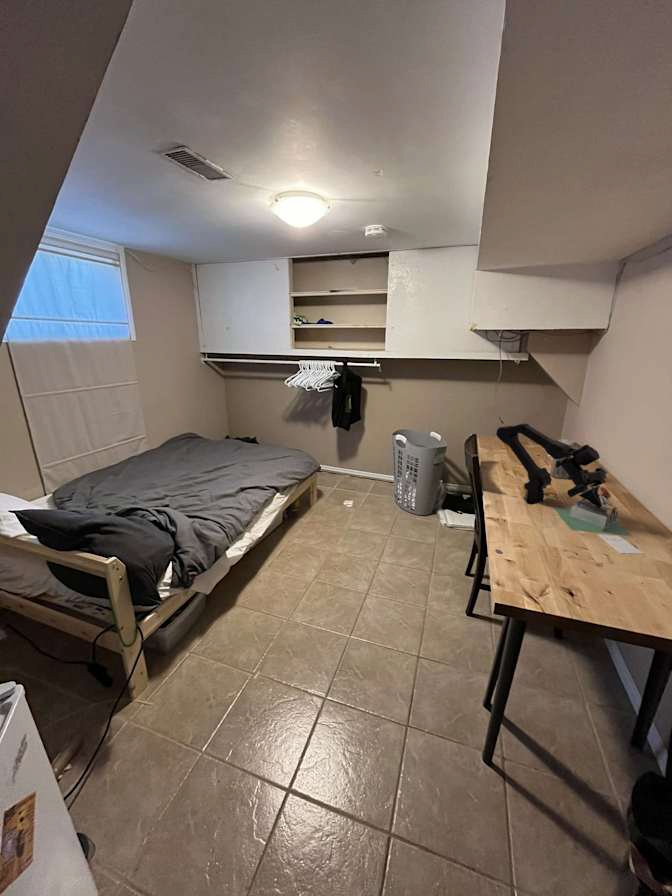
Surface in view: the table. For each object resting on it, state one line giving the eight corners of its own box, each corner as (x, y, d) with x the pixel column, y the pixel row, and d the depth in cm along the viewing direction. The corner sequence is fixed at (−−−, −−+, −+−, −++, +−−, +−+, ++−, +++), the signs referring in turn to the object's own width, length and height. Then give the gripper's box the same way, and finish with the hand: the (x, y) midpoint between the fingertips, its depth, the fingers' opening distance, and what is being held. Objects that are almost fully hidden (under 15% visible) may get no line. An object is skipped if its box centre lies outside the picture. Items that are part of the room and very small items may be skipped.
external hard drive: (619, 557, 122) (595, 538, 134) (644, 558, 121) (618, 538, 133) (620, 553, 121) (596, 534, 133) (645, 553, 121) (619, 534, 133)
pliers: (591, 505, 161) (592, 499, 161) (576, 488, 180) (577, 483, 179) (621, 508, 158) (623, 503, 158) (603, 491, 177) (604, 486, 176)
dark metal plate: (578, 503, 146) (578, 501, 146) (582, 501, 147) (582, 499, 147) (609, 513, 137) (610, 511, 137) (613, 512, 138) (613, 510, 138)
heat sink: (568, 518, 146) (571, 501, 144) (583, 511, 152) (586, 494, 150) (602, 531, 136) (606, 512, 134) (616, 523, 142) (621, 505, 140)
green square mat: (570, 532, 137) (571, 529, 137) (552, 509, 156) (553, 507, 155) (631, 538, 133) (632, 536, 132) (605, 514, 152) (606, 512, 151)
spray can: (567, 475, 196) (574, 439, 191) (567, 480, 190) (574, 443, 184) (549, 472, 201) (556, 437, 195) (549, 477, 194) (555, 440, 189)
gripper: (581, 465, 136) (609, 503, 130) (604, 458, 145) (631, 492, 139) (556, 479, 144) (581, 515, 138) (579, 471, 154) (604, 504, 148)
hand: (600, 506), depth 141 cm, fingers closed, pressing on dark metal plate
